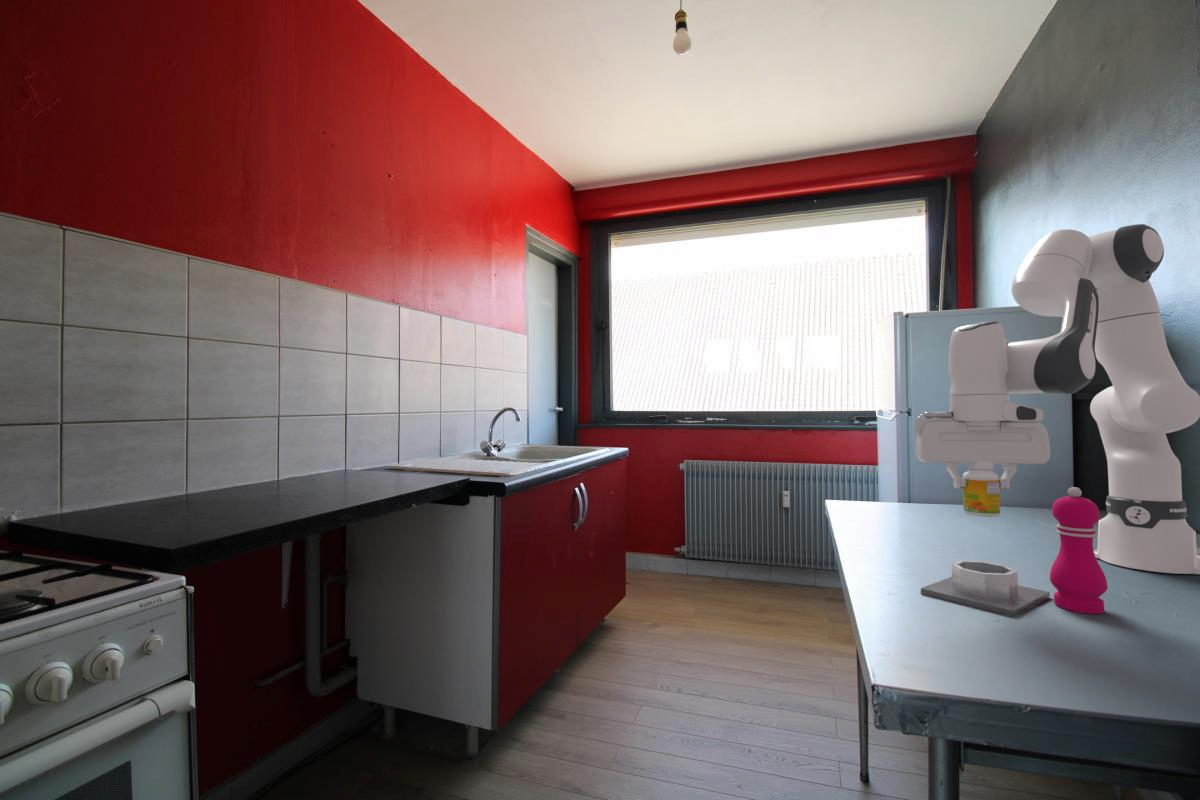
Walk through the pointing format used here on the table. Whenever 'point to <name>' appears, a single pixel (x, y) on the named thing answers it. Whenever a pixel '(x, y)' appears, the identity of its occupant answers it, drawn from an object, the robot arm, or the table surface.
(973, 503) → the supplement bottle
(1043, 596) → the collar
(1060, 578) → the pepper mill
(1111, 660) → the table surface
